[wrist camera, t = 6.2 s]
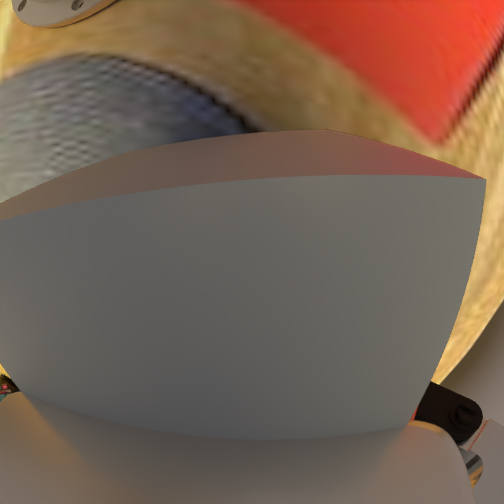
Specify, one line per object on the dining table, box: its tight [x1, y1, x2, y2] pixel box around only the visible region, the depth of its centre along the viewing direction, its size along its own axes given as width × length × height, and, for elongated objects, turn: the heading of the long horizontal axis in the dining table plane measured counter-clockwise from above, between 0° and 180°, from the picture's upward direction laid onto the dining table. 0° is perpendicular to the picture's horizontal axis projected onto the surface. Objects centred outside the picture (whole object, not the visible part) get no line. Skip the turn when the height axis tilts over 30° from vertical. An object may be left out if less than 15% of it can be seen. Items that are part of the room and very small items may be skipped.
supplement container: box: [0, 376, 18, 402], centre depth 25 cm, size 7×7×10 cm
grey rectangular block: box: [0, 129, 486, 440], centre depth 9 cm, size 13×8×9 cm, turn 6°
